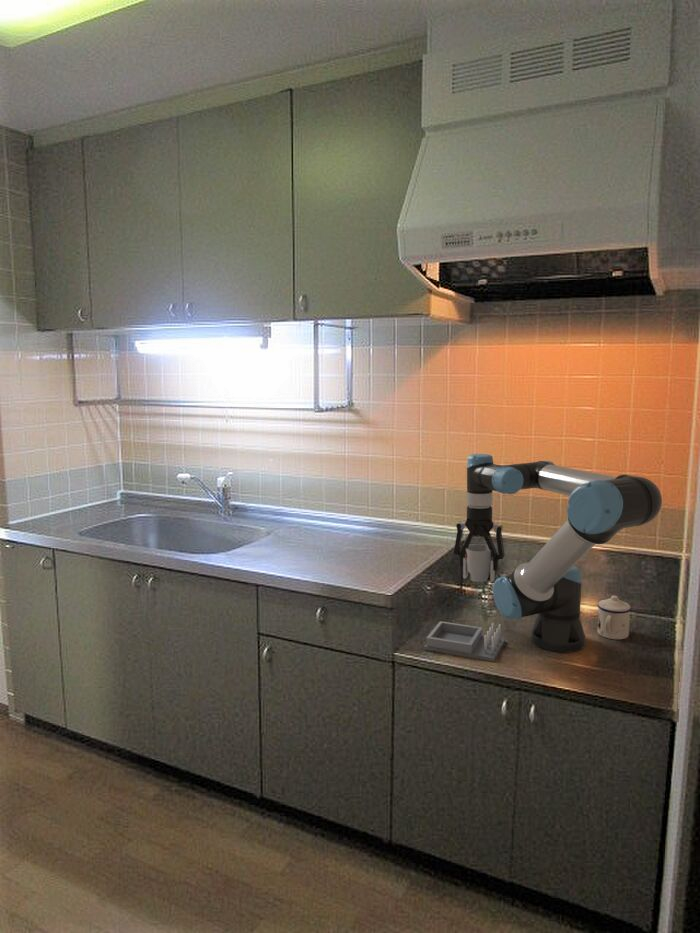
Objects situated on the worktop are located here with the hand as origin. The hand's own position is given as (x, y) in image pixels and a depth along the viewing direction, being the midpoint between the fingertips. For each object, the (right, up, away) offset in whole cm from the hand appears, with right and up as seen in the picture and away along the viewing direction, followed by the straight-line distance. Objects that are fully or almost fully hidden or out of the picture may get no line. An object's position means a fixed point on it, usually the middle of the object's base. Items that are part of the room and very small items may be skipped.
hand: (478, 578), depth 201 cm
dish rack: (-6, -17, -12) cm, 22 cm away
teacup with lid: (+38, -16, -7) cm, 42 cm away
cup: (0, -1, 0) cm, 0 cm away
